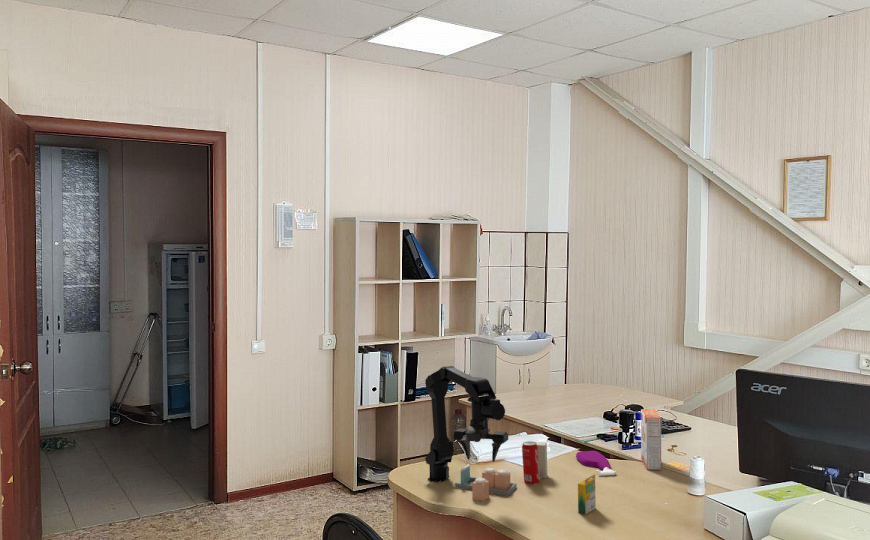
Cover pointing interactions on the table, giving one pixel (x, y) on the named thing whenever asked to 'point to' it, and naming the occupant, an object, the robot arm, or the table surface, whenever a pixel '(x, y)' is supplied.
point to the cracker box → (651, 439)
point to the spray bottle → (595, 462)
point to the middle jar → (489, 476)
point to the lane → (491, 490)
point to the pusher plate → (465, 474)
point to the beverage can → (530, 463)
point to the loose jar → (480, 489)
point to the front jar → (502, 480)
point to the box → (542, 459)
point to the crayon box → (586, 495)
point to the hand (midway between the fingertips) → (481, 460)
